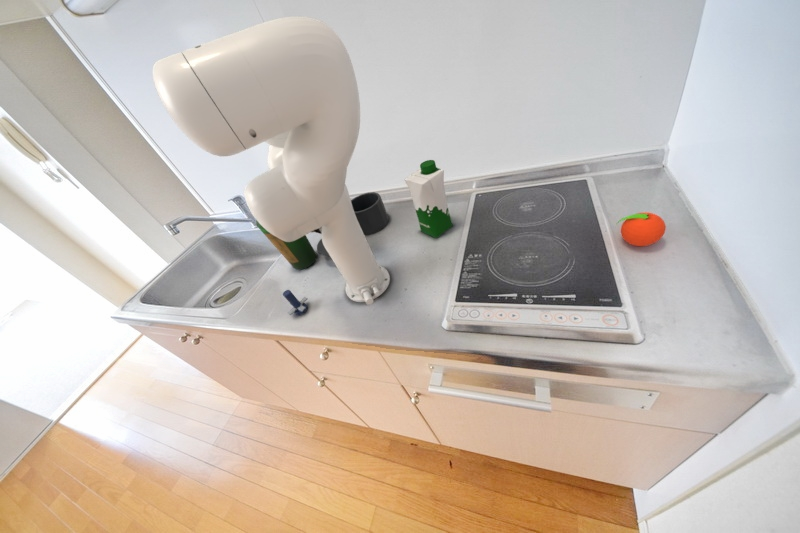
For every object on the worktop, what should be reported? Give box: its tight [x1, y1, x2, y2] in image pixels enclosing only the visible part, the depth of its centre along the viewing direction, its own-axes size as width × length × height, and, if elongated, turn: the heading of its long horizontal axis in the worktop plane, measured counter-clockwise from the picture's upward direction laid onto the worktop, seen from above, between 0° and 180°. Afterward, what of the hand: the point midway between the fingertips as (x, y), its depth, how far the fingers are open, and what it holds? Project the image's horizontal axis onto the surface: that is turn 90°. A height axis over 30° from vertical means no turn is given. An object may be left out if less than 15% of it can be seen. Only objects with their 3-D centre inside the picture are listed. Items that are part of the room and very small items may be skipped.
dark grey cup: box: [350, 191, 390, 236], centre depth 92 cm, size 12×12×9 cm
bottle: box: [255, 219, 318, 271], centre depth 81 cm, size 11×11×28 cm
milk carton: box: [404, 159, 453, 239], centre depth 76 cm, size 9×9×20 cm
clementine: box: [617, 212, 666, 247], centre depth 56 cm, size 8×7×7 cm
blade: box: [282, 289, 309, 316], centre depth 71 cm, size 6×6×8 cm
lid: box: [316, 238, 330, 257], centre depth 82 cm, size 13×13×6 cm
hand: (336, 239), depth 83 cm, fingers closed on lid, 2 cm apart
